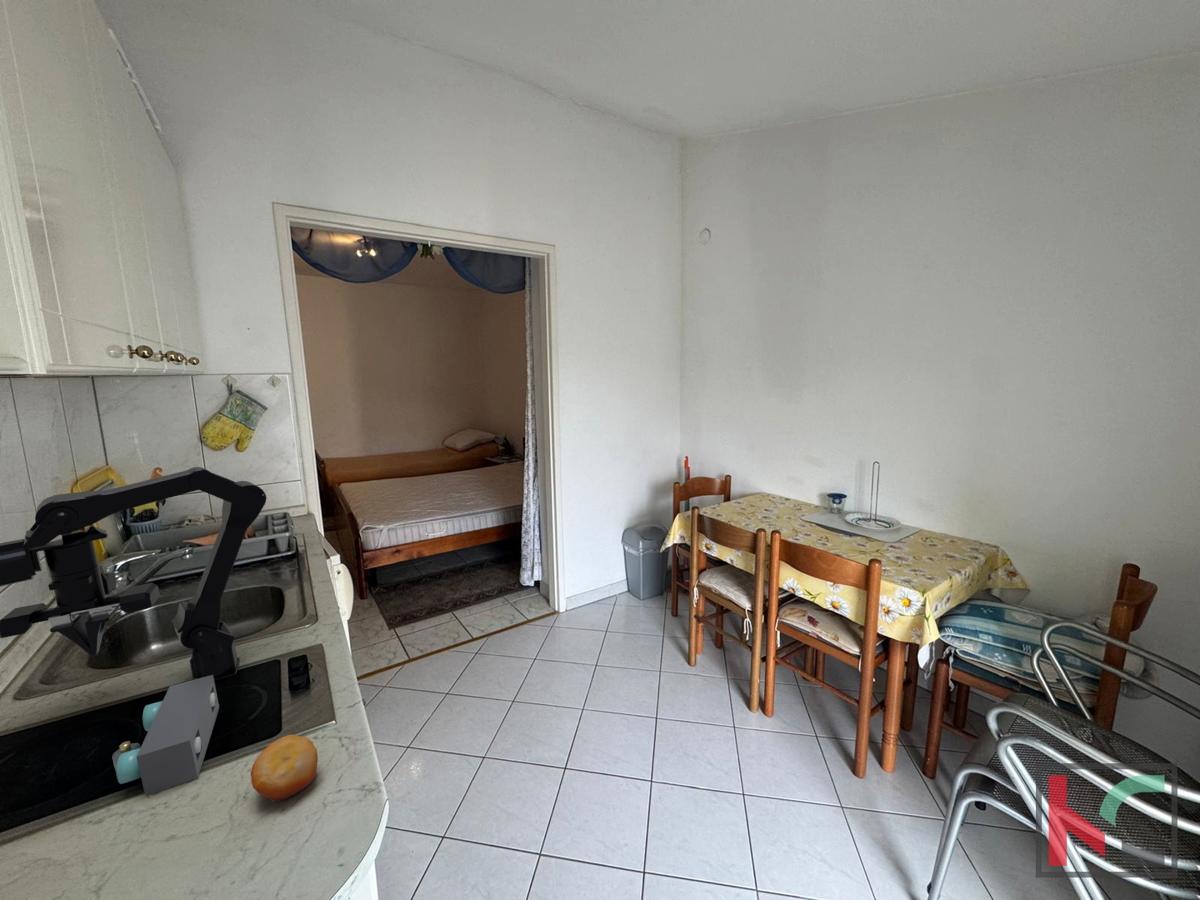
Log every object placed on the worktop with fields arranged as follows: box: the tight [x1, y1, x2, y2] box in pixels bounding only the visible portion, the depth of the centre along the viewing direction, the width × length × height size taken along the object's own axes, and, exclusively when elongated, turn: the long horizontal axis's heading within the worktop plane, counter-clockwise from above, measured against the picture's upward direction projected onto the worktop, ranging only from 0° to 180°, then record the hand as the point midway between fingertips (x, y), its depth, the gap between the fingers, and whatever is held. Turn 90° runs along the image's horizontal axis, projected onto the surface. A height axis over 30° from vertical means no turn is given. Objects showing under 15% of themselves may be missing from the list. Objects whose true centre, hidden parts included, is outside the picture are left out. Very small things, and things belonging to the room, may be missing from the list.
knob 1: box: [142, 693, 215, 732], centre depth 85 cm, size 9×4×4 cm, turn 119°
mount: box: [136, 675, 220, 797], centre depth 80 cm, size 6×18×6 cm, turn 29°
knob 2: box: [116, 737, 201, 785], centre depth 74 cm, size 9×4×4 cm, turn 119°
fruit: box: [250, 734, 319, 802], centre depth 72 cm, size 8×8×8 cm
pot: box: [111, 740, 142, 773], centre depth 77 cm, size 3×3×4 cm
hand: (94, 653), depth 87 cm, fingers closed
